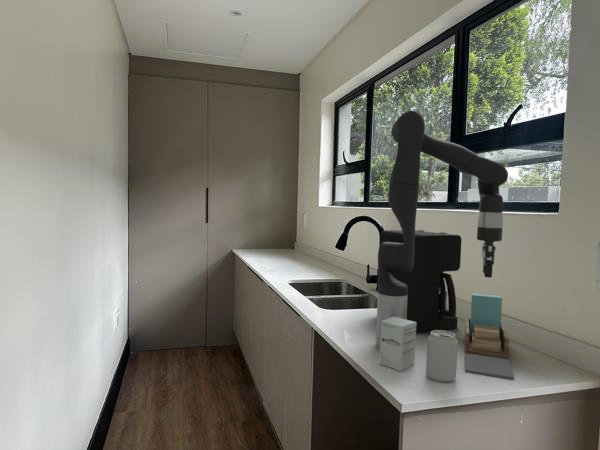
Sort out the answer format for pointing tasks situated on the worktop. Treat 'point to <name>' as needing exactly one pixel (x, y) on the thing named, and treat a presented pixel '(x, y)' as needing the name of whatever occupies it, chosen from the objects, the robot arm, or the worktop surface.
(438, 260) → the coffee maker
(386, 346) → the supplement box
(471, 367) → the charcoal mat
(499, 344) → the lower offcut
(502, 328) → the walnut rack
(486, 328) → the upper offcut
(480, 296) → the teal board
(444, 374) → the can
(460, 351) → the worktop surface
